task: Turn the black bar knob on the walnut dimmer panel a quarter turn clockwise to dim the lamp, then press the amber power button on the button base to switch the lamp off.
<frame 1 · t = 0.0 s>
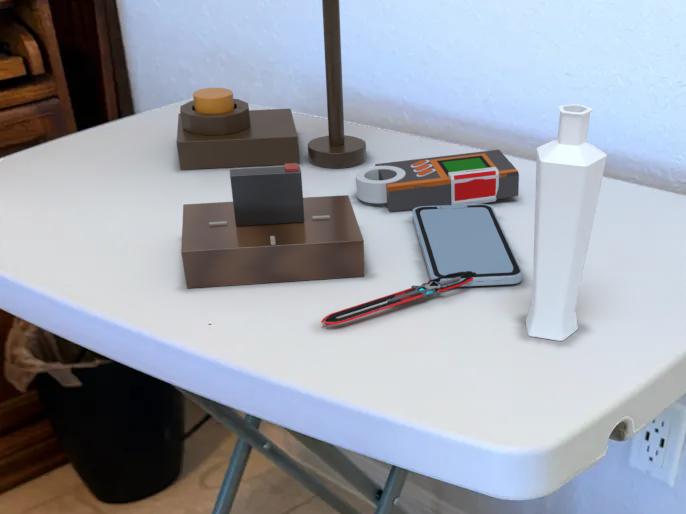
smartphone: (463, 250, 78), on the table, touching toy sword
button base: (239, 151, 98), on the table
toy sword: (401, 303, 70), on the table, touching smartphone
electronic device: (434, 197, 88), on the table
dimmer panel: (273, 257, 77), on the table
white vase: (547, 331, 67), on the table
lamp: (337, 158, 96), on the table
power button: (213, 102, 94), point 5 cm above the table, slide at 0.1 cm
dimmer knob: (267, 194, 74), point 5 cm above the table, hinge at 0.0°
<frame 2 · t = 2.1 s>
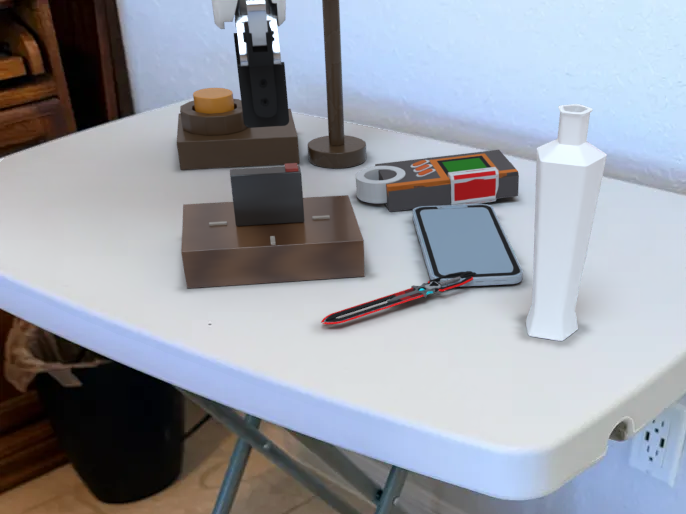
hand: (263, 106, 69), 12 cm above the table, tool pointing down, fingers open, 9 cm apart
nothing on the table moved.
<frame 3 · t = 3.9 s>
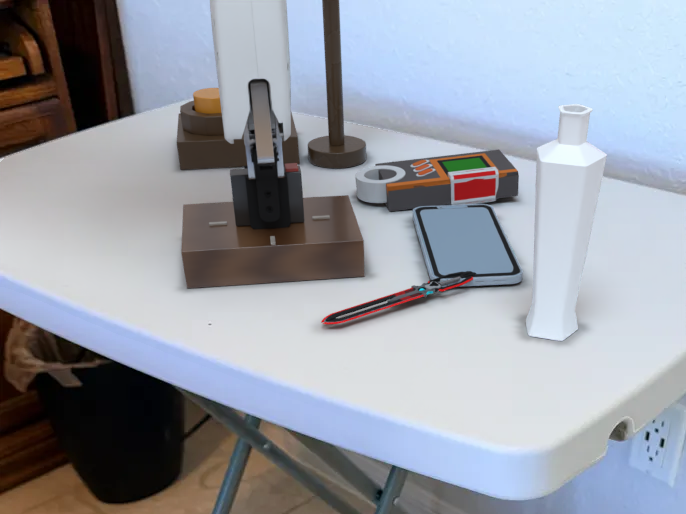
hand: (269, 219, 75), 3 cm above the table, tool pointing down, fingers closed
nothing on the table moved.
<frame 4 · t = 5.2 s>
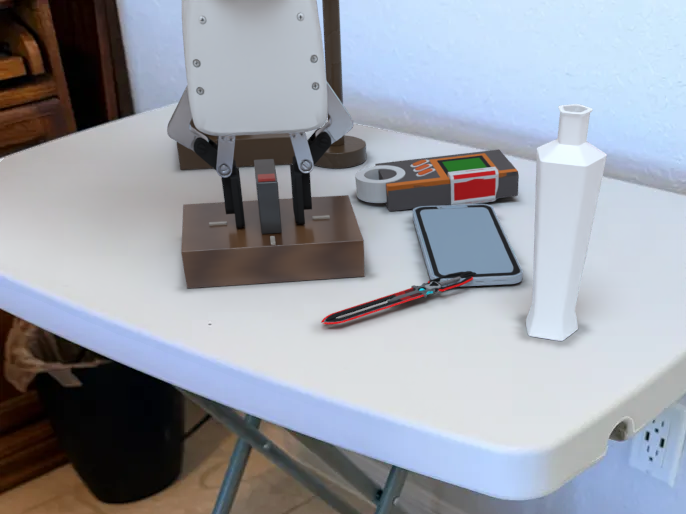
hand: (269, 217, 75), 3 cm above the table, tool pointing down, fingers open, 4 cm apart
dimmer knob: (267, 194, 74), point 5 cm above the table, hinge at -90.1°
everything else where it was.
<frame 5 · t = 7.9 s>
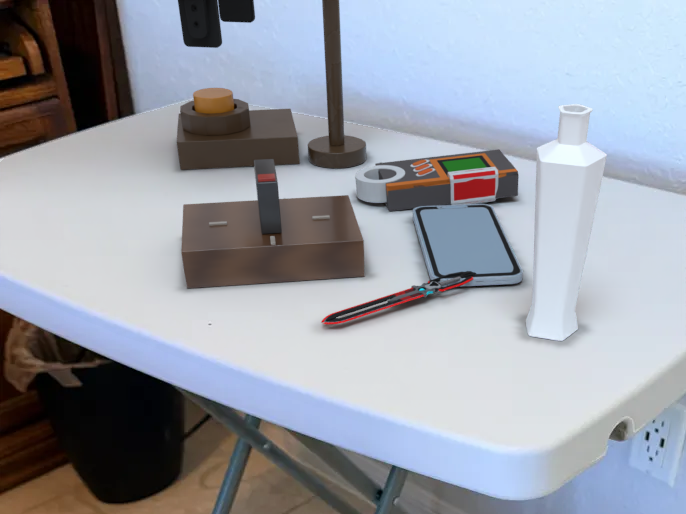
hand: (221, 33, 81), 13 cm above the table, tool pointing down, fingers open, 9 cm apart
nothing on the table moved.
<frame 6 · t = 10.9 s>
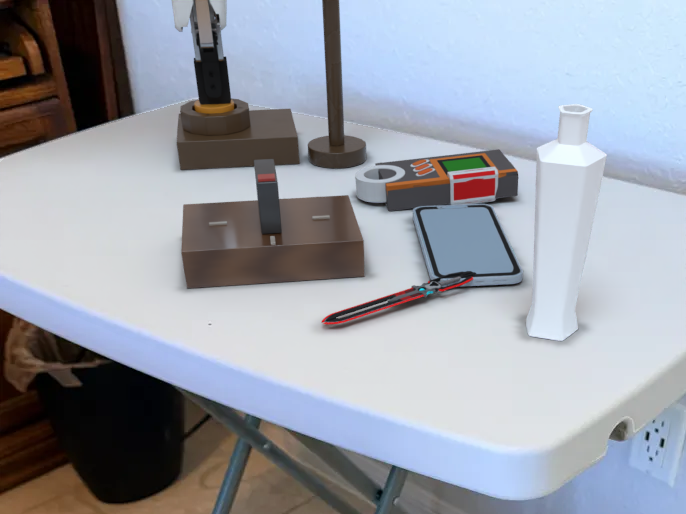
hand: (215, 101, 94), 5 cm above the table, tool pointing down, fingers closed
power button: (215, 111, 95), point 4 cm above the table, slide at -0.8 cm, touching gripper
everything else where it was.
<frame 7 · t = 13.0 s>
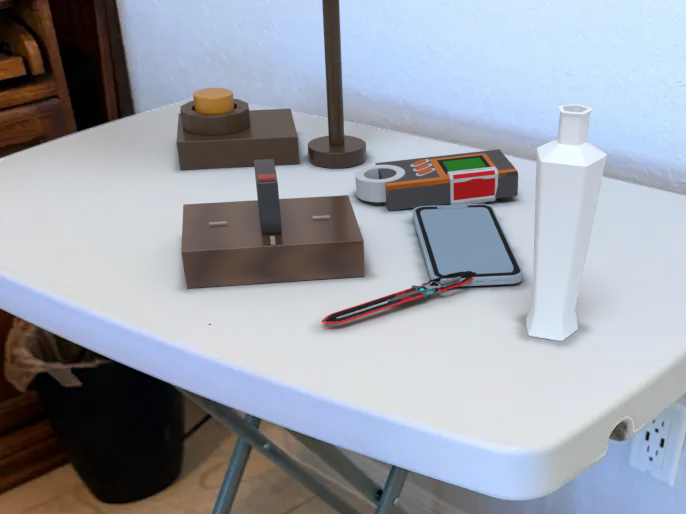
power button: (213, 102, 94), point 5 cm above the table, slide at 0.1 cm
everything else where it was.
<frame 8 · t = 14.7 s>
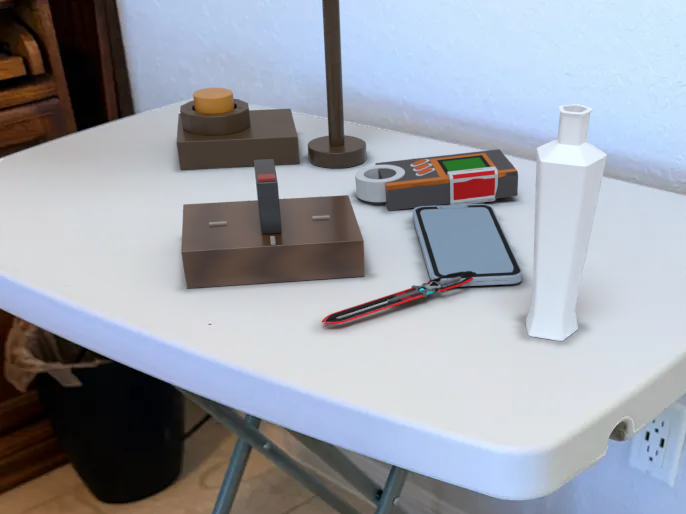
nothing on the table moved.
at the end: dimmer knob at -90° (first picture: +0°); power button pushed in 1.1 cm at the most during the clip, back to where it started at the end; power button slide at 0.1 cm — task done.
